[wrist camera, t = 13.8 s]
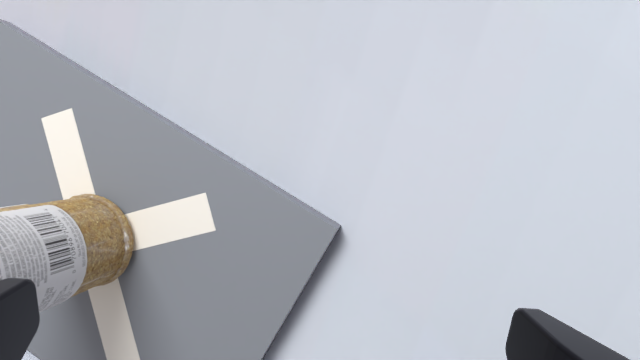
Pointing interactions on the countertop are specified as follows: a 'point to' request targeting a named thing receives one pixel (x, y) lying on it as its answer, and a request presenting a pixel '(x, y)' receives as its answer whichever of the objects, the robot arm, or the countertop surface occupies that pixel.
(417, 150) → the countertop surface
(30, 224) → the sprinkles bottle
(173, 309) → the board
